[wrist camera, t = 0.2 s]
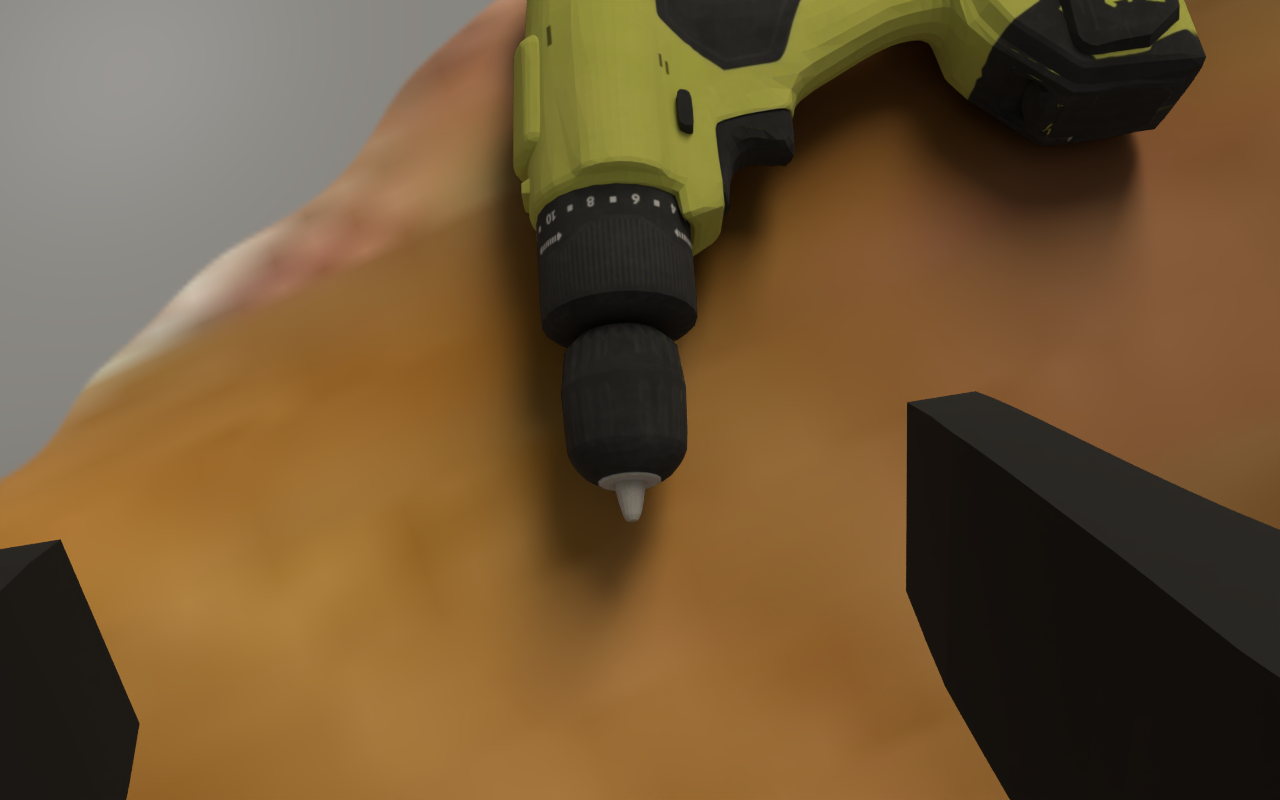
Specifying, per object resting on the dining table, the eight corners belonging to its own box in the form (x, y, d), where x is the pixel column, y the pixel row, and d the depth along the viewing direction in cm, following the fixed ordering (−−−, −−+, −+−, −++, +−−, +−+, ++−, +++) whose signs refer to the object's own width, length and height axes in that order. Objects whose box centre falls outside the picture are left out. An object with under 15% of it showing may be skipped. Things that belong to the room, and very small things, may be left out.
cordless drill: (1227, 503, 41) (535, 550, 40) (1090, -53, 49) (513, -21, 49) (1340, 446, 34) (515, 501, 34) (1160, -186, 43) (493, -151, 42)
